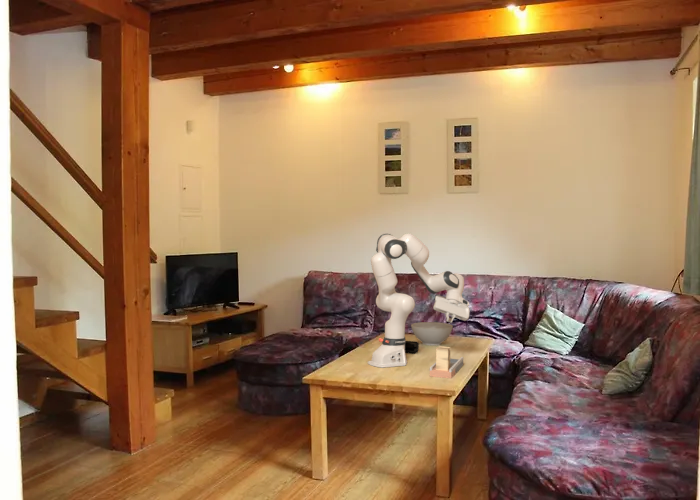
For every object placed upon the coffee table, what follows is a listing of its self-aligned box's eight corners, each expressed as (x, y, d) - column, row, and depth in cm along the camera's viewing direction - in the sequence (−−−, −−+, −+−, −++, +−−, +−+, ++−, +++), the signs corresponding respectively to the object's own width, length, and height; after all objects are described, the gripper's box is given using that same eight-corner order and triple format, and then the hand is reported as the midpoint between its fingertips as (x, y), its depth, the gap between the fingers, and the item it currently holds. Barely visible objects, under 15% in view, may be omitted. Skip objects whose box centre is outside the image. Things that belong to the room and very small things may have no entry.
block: (438, 367, 313) (438, 346, 313) (450, 368, 311) (450, 347, 311) (436, 369, 308) (436, 348, 307) (447, 370, 305) (448, 349, 305)
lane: (443, 363, 336) (443, 355, 336) (463, 365, 332) (463, 357, 332) (429, 376, 306) (429, 367, 306) (451, 378, 302) (451, 369, 302)
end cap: (418, 352, 367) (419, 341, 367) (415, 354, 361) (415, 342, 361) (403, 350, 371) (403, 339, 371) (399, 352, 365) (399, 341, 365)
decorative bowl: (409, 339, 408) (410, 321, 408) (449, 340, 407) (450, 322, 407) (412, 347, 381) (412, 328, 381) (455, 348, 380) (455, 328, 380)
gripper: (438, 291, 336) (433, 312, 329) (472, 303, 338) (468, 325, 330) (434, 296, 342) (429, 317, 334) (467, 308, 343) (464, 329, 335)
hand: (449, 321), depth 332 cm, fingers closed
